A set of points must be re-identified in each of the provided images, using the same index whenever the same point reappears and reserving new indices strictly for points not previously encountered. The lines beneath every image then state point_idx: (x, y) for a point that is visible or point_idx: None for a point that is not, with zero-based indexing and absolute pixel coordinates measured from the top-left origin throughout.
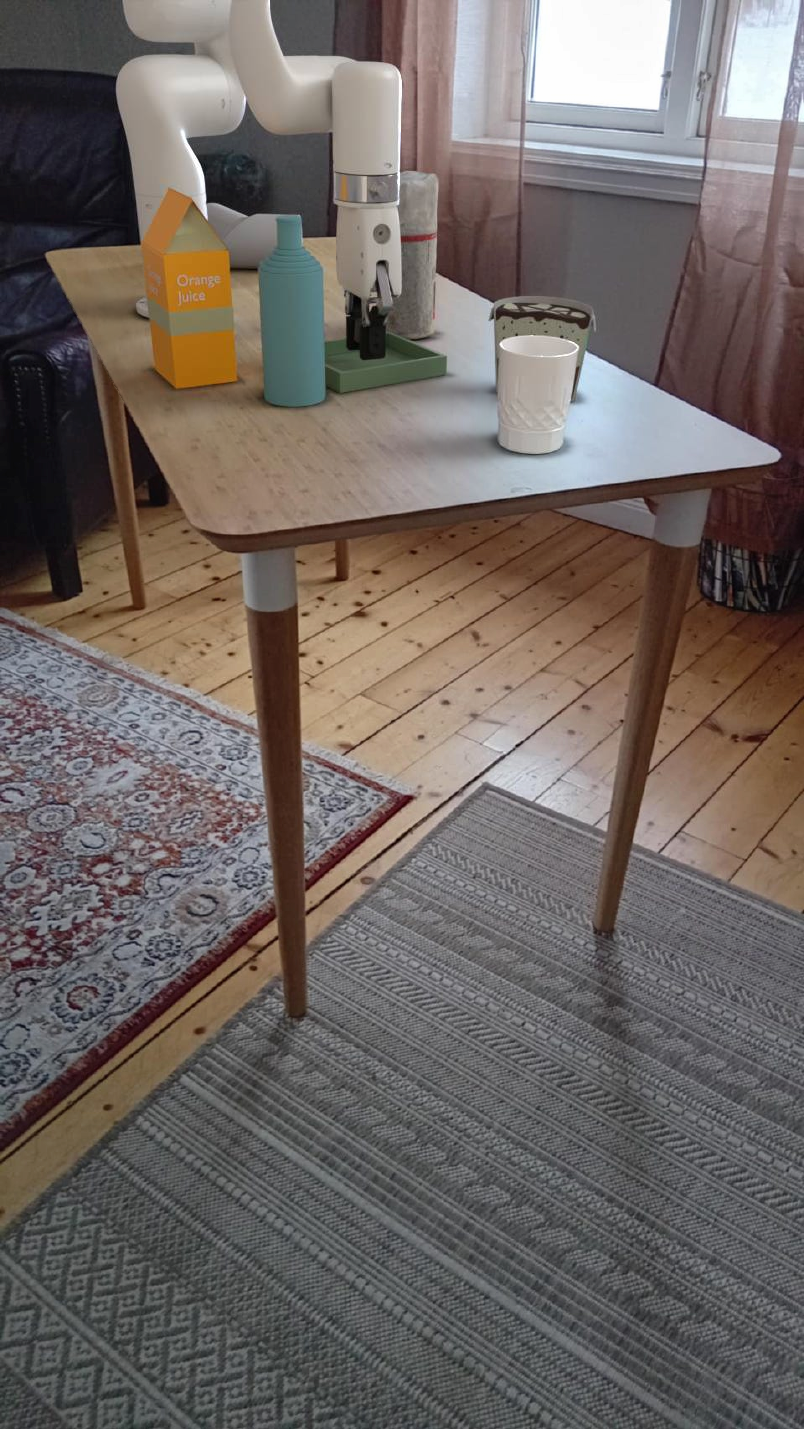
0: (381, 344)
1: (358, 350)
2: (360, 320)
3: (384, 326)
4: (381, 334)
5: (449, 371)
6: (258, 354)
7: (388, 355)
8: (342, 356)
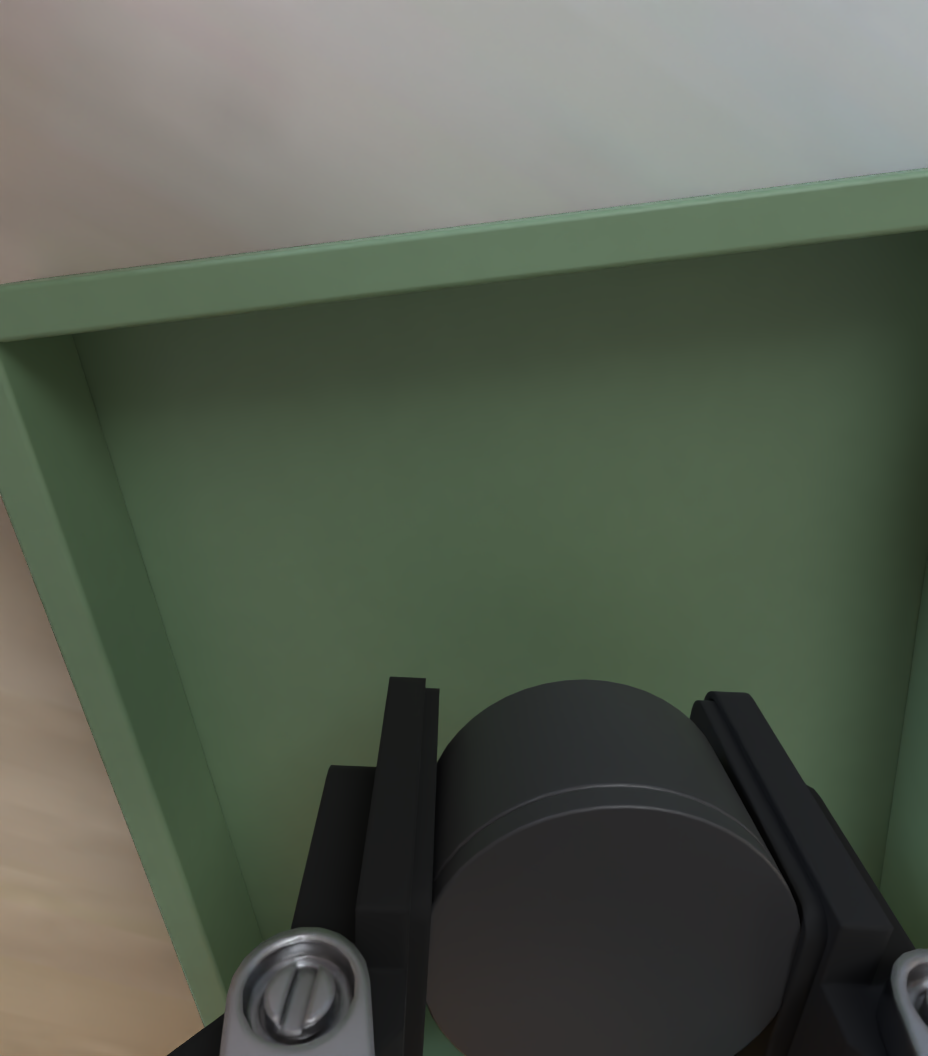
0: (837, 828)
1: (154, 609)
2: (545, 1050)
3: (876, 921)
4: (891, 912)
5: (925, 57)
6: (12, 1049)
7: (352, 440)
8: (265, 752)
